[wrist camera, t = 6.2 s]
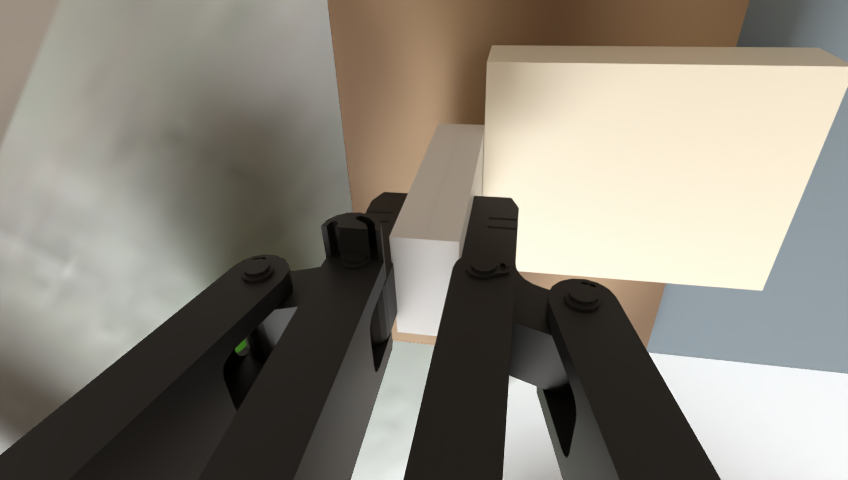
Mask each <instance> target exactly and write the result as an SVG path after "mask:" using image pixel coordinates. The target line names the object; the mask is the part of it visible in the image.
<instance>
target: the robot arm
mask: <svg viewBox="0 0 848 480" xmlns="http://www.w3.org/2000/svg"><path fill="white" fill-rule="evenodd" d="M484 132H485V125H471V124H441V123H438V126H437V128H436V130H435V133H434V135H433V137H432V140H431V142H430V144H429V146H428V149H427V151H426V153H425V156H424V158H423V160H422V163H421V165H420V167H419V169H418V172H417V174H416V176H415V179H414V181H413V183H412V186H411V188H410V190H409V192H408V193H394V192H383V193H382V194H380V195H379V196H377V197H376V198H375V199H373V200H372V201H371V203H370V205H369V207H368V208H367V210H366V213H360V212H357V213H345V214H341V215H337V216H335V217H333V218H331V219H329V220H327V221H326V222H325V223H324V224H323V225H322V226H321V229H322V234H323V240H324V246H325V252H326V259H325V261H324V263H323V264H322V266H321V267H317V268H312V269H306V270H298V271H290V269H289V265H288V264H287V262H286V261H285V259H282V258H280V257H278V256H272V255H261V256H254V257H251V258H248V259H245V260H243V261H241V262H240V263H238V264H236V265H235V266H233V267H232V268H231V269H230V270H228V271H227V272H226V273H225V274H223V275H222V276H221V277H220V278H219V279H217V280H216V281H215V282H214V283H212V284H211V285H210V286H209V287H207V288H206V289H205V290H204V291H202V292H201V293H200V294H199V295H198V296H196V297H195V298H194V299H193V300H191V301H190V302H189V303H188V304H186V305H185V306H184V307H183V308H181V309H180V310H179V311H178V312H177V313H175V314H174V315H173V316H172V317H170V318H169V319H168V320H167V321H165V322H164V323H163V324H162V325H160V326H159V327H158V328H157V329H155V330H154V331H153V332H152V333H151V334H149V335H148V336H147V337H146V338H144V339H143V340H142V341H141V342H139V343H138V344H137V345H136V346H134V347H133V348H132V349H131V350H130V351H128V352H127V353H126V354H125V355H123V356H122V357H121V358H120V359H118V360H117V361H116V362H115V363H113V364H112V365H111V366H110V367H108V368H107V369H106V370H105V371H104V372H102V373H101V374H100V375H99V376H97V377H96V378H95V379H94V380H92V381H91V382H90V383H89V384H87V385H86V386H85V387H84V388H83V389H81V390H80V391H79V392H78V393H76V394H75V395H74V396H73V397H71V398H70V399H69V400H68V401H66V402H65V403H64V404H63V405H61V406H60V407H59V408H58V409H57V410H55V411H54V412H53V413H52V414H50V415H49V416H48V417H47V418H45V419H44V420H43V421H42V422H40V423H39V424H38V425H37V426H36V427H34V428H33V429H32V430H31V431H29V432H28V433H27V434H26V435H24V436H23V437H22V438H21V439H19V440H18V441H17V442H16V443H15V444H13V445H12V446H11V447H10V448H8V449H7V450H6V451H5V452H3V453H2V454H1V455H0V480H351V477H352V473H353V470H354V467H355V464H356V461H357V458H358V455H359V451H360V448H361V445H362V442H363V439H364V436H365V433H366V429H367V426H368V423H369V420H370V417H371V414H372V410H373V407H374V404H375V401H376V398H377V395H378V392H379V388H380V385H381V382H382V379H383V376H384V373H385V370H386V366H387V363H388V360H389V357H390V354H391V351H392V343H393V340H392V327H393V324H394V321H395V318H396V321H397V332H401V333H411V334H420V335H430V336H437V338H436V342H435V346H434V351H433V355H432V359H431V364H430V368H429V372H428V377H427V381H426V385H425V390H424V394H423V398H422V403H421V407H420V411H419V415H418V420H417V424H416V428H415V433H414V437H413V441H412V446H411V450H410V454H409V459H408V463H407V467H406V471H405V476H404V480H502V478H503V462H504V446H505V431H506V415H507V399H508V383H509V375H510V376H512V377H515V378H517V379H520V380H522V381H525V382H527V383H530V384H532V385H535V386H537V394H538V398H539V401H540V404H541V408H542V411H543V414H544V418H545V421H546V424H547V428H548V431H549V434H550V438H551V441H552V444H553V448H554V451H555V454H556V458H557V461H558V465H559V468H560V471H561V475H562V478H563V480H721V479H720V477H719V476H718V474H717V472H716V470H715V469H714V467H713V465H712V463H711V462H710V460H709V458H708V456H707V455H706V453H705V451H704V449H703V448H702V446H701V444H700V442H699V441H698V439H697V437H696V435H695V434H694V432H693V430H692V428H691V427H690V425H689V423H688V421H687V420H686V418H685V416H684V414H683V413H682V411H681V409H680V407H679V406H678V404H677V402H676V400H675V399H674V397H673V395H672V393H671V392H670V390H669V388H668V386H667V385H666V383H665V381H664V380H663V378H662V376H661V374H660V373H659V371H658V369H657V367H656V366H655V364H654V362H653V360H652V359H651V357H650V355H649V353H648V352H647V350H646V348H645V346H644V345H643V343H642V341H641V339H640V338H639V336H638V334H637V332H636V331H635V329H634V327H633V325H632V324H631V322H630V320H629V318H628V317H627V315H626V313H625V311H624V310H623V308H622V306H621V304H620V303H619V301H618V299H617V297H616V296H615V295H614V294H613V293H612V292H611V291H610V290H609V289H608V288H606V287H605V286H603V285H601V284H599V283H597V282H594V281H590V280H587V279H573V278H572V279H567V280H562V281H560V282H558V283H556V284H555V285H553V286H552V287H551V289H550V290H549V289H546V288H543V287H540V286H537V285H535V284H532V283H531V282H529V281H527V280H526V279H524V278H523V277H522V276H521V275H520V274H519V272H518V270H517V268H516V247H517V230H518V214H519V208H518V206H517V205H516V203H515V202H514V201H513V199H512V198H506V197H488V196H482V191H483V162H484ZM244 339H245V341H246V344H247V345H246V346H245V347H244V348H243V349H242V350H241V351H240V352H238V353H236V351H235V348H236V347H237V346H238V345H239V344H240V343H241V342H242V341H243V340H244Z"/></svg>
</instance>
